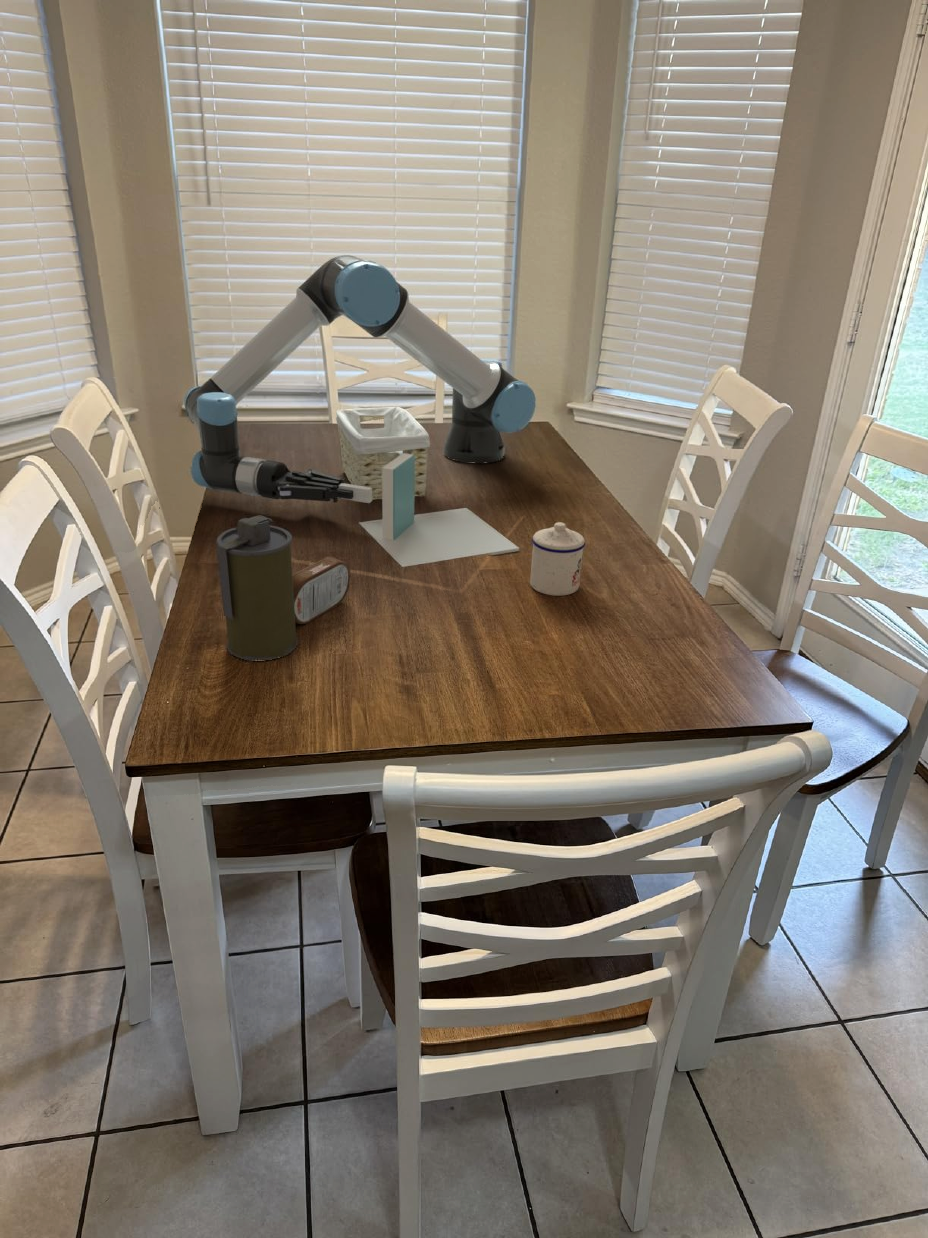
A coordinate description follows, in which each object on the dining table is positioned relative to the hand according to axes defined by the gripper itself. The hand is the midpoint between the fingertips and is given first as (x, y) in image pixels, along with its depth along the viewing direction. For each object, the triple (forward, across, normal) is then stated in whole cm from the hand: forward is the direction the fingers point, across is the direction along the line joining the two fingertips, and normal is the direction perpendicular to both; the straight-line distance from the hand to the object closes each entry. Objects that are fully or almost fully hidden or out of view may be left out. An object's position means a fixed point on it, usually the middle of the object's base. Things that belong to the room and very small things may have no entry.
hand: (370, 495), depth 172 cm
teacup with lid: (+40, +10, -7) cm, 42 cm away
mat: (+14, -1, -7) cm, 15 cm away
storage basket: (-9, -25, -7) cm, 28 cm away
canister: (+5, +49, -7) cm, 50 cm away
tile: (+6, 0, -6) cm, 9 cm away
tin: (+7, +36, -7) cm, 38 cm away
